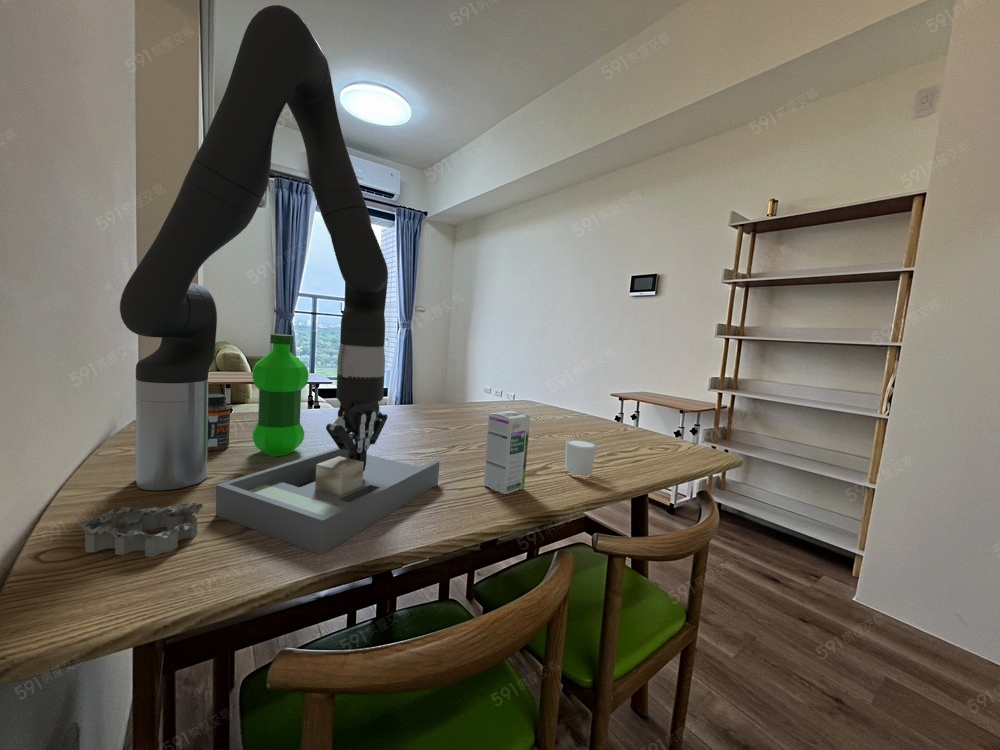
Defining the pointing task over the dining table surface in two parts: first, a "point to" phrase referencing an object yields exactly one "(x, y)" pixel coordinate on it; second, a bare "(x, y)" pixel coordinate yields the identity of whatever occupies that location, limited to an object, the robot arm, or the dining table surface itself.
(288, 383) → the plastic bottle
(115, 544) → the grey cookie cutter
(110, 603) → the dining table surface
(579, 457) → the white cylinder
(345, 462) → the block
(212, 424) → the supplement bottle
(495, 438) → the syrup box
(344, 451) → the box
